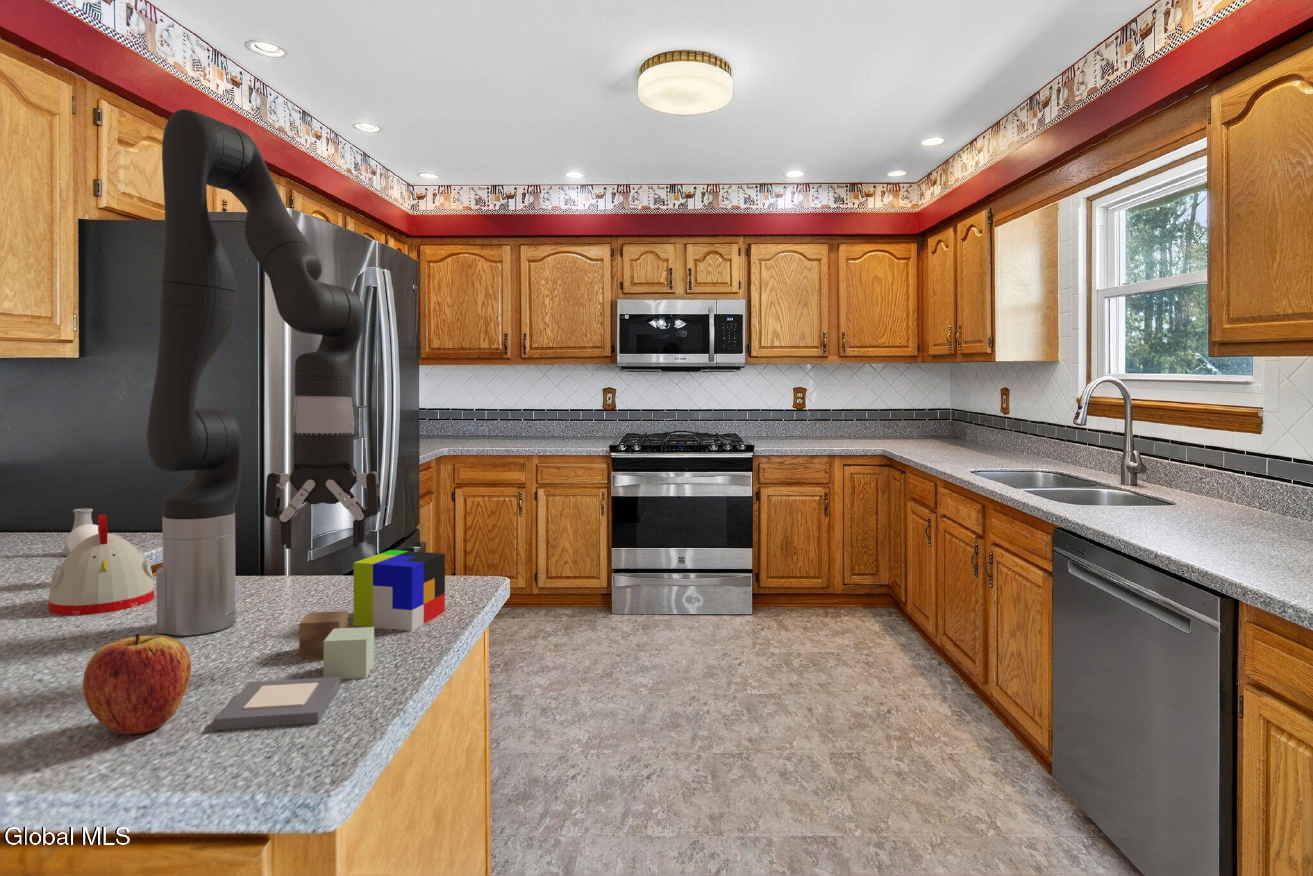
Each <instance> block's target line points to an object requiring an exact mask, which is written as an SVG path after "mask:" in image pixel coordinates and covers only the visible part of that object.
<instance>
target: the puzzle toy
mask: <svg viewBox="0 0 1313 876" xmlns="http://www.w3.org/2000/svg"><path fill="white" fill-rule="evenodd" d="M445 597H446V553H444V552H443V553H441V552H428V551H413V550H398V549H397V550H396V549H390V550H387V551H384V552H381V553H379V554H376V555H372V556H369V557H366V558H363V559H360V560H357V561H354V562H353V626H354V627H360V626H364V627H374V629H381V628H385V629H386V630H392V629H399V630H398V631H403V630H407V631H406V632H414V631H415V630H417V629H419V628H420V627H422V626H423V625H422V624H424V623H426V622H427V623H429V622H430V621H429V620H431V621H432V619H433V618H434V619H436V618H438V617H439V616H438V615H440V614H441V613H443V612H445V611H446V610H445V608H446V603H445V601H446V598H445ZM445 613H446V612H445ZM443 614H444V613H443ZM441 615H442V614H441ZM441 615H440V616H441ZM437 616H438V617H437ZM435 617H436V618H435ZM434 619H433V620H434ZM428 621H429V622H428ZM427 623H426V624H427ZM421 625H422V626H421ZM424 625H425V624H424ZM419 626H420V627H419ZM418 627H419V628H418ZM416 628H417V629H416ZM385 629H384V630H385ZM400 629H401V630H400ZM414 629H415V630H414Z"/></svg>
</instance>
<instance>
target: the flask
mask: <svg viewBox="0 0 1313 876" xmlns="http://www.w3.org/2000/svg"><path fill="white" fill-rule="evenodd" d="M93 510H94V509H93V508H76V509H73V510H72V512H73V513H74V521H73V527H72V529H71V531H70V533H71V532H72V531H73V530H74V529H75V528H77V527H79V526H82V525H86V524H94V523H93V519H92V512H94V511H93ZM70 552H71V551H70V550H69V548H68V546H67V542H65V545H64V547H63V549H62V551H61V554H60V556H64V557H67V556H68V554H69V553H70Z"/></svg>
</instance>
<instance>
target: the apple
mask: <svg viewBox="0 0 1313 876" xmlns="http://www.w3.org/2000/svg"><path fill="white" fill-rule="evenodd" d="M191 675H192V661H191V656H190V654H189V651H188V649H187V647H186V646H185V645H184V644H183V643H182V642H181V641H178V640H177V639H175V638H173V637H170V636H167V635H164V634H163V635H162V634H159V635H141V633H136V634H135V635H134V636H132V637H125V638H123V639H122V638H121V639H118V640H114V641H111V642H109V643H107V644H105V645H104V646H102V647H101V648H99V649H98V650H97V651H95V653H94V654H93V655H92V656H91V658H90V659H89V661H88V662H87V665H86V667H85V669H84V674H83V678H82V679H83V680H82V693H83V697H84V698H83V699H84V700H85V703H86V705H87V707H88V709H89V711H90V713H92V716H93V717H94V718H95V719H96V720H97V721H98V722H99V723H100V724H101V725H102V726H104V728H106V729H107V730H109V731H111V732H113V733H117V734H122V735H135V734H136V735H137V734H145V733H147V732H151V731H153V730H156V729H158V728H160V727H161V726H163V725H165V724H166V723H167V722H168V721H169V720H171V718H172V717H173V716H174V715H175V713H176V712H177V710H178V709H179V707H180V705H181V703H182V701H183V698H184V697H185V694H186V692H187V689H188V687H189V684H190V680H191Z"/></svg>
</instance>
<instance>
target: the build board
mask: <svg viewBox="0 0 1313 876" xmlns="http://www.w3.org/2000/svg"><path fill="white" fill-rule="evenodd" d="M340 687H341V679H340V677H328V678H324V677H312V678H311V677H310V678H295V679H280V680H279V679H277V680H258V681H250V682H248V683H247V685H246V686H245V687H244V688H243V689H242V690H241V691H240V692H239V693H238V694H237V695H236V696H235V697H234V698H233V699H232V701H231V702H229V703H228V705H227V706H225V708H224V709H223V710H221V712H220V713H219V714H218V715H217V717H216V718H214V731H222V730H223V731H224V730H225V731H226V730H239V729H240V730H241V729H252V728H268V727H281V726H282V727H284V726H296V725H299V726H300V725H312V724H319V722H320V721H321V719H322V718H323V716H324V714H325V712H326V711H327V709H328V707H329V706H330V704H331V702H332V701H333V699H334V698H335V696H336V694H337V692H338V691H339V690H340Z"/></svg>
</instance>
